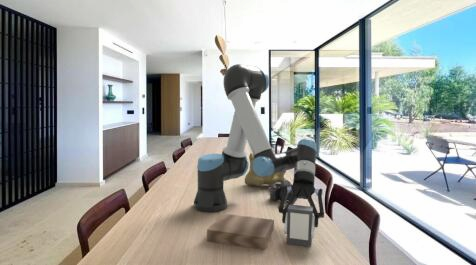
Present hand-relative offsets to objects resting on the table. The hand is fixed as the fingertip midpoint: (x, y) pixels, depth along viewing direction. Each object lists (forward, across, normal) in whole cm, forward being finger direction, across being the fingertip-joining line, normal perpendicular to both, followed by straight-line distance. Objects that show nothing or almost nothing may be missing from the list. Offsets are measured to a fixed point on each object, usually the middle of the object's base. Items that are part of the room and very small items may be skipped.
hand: (298, 234), depth 100 cm
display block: (+1, -20, +5) cm, 21 cm away
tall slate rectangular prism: (+1, 0, +5) cm, 5 cm away
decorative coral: (-47, -25, +53) cm, 75 cm away
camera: (-31, -12, +37) cm, 49 cm away
